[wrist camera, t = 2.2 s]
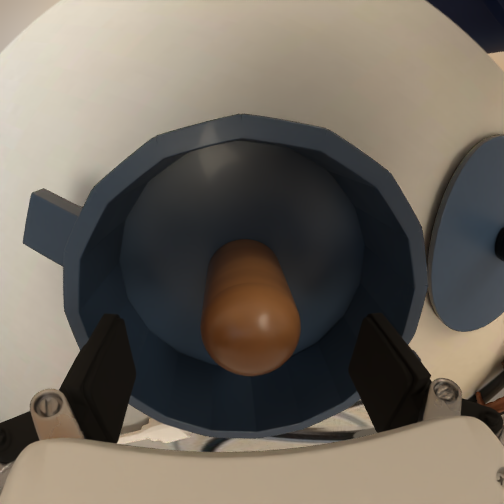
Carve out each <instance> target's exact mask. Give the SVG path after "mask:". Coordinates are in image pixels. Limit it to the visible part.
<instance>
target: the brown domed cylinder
mask: <svg viewBox="0 0 504 504" xmlns="http://www.w3.org/2000/svg"><path fill="white" fill-rule="evenodd" d="M200 329H201V337H202V341H203V344H204V346H205V348H206V350H207V352H208V354H209V355H210V356H211V358H212V359H213V360H214V361H215V362H216V363H217V364H218V365H219V366H221V367H222V368H224V369H225V370H227V371H229V372H232V373H234V374H238V375H242V376H259V375H264V374H267V373H270V372H272V371H274V370H276V369H277V368H279V367H280V366H282V365H283V364H284V363H285V362H286V361H287V360H288V359H289V358H290V357H291V355H292V354H293V352H294V351H295V349H296V347H297V344H298V341H299V338H300V332H301V322H300V316H299V312H298V310H297V307H296V304H295V302H294V299H293V297H292V294H291V291H290V289H289V286H288V284H287V281H286V279H285V276H284V274H283V271H282V269H281V266H280V263H279V261H278V259H277V257H276V255H275V254H274V252H273V251H272V250H271V249H270V248H269V247H267V246H266V245H264V244H263V243H261V242H258V241H255V240H249V239H241V240H235V241H232V242H229V243H227V244H225V245H223V246H222V247H221V248H219V249H218V250H217V251H216V252H215V254H214V255H213V256H212V258H211V260H210V262H209V266H208V272H207V278H206V285H205V293H204V300H203V307H202V315H201V325H200Z"/></svg>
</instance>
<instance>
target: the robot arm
mask: <svg viewBox="0 0 504 504" xmlns="http://www.w3.org/2000/svg"><path fill="white" fill-rule="evenodd" d="M348 372H349V375H350V377H351V379H352V381H353V383H354V385H355V388H356V390H357V392H358V394H359V396H360V398H361V400H362V402H363V404H364V406H365V408H366V410H367V413H368V415H369V417H370V419H371V421H372V423H373V425H374V427H375V430H376V431H377V433H376V434H372V435H368V436H364V437H359V438H354V439H349V440H344V441H339V442H333V443H327V444H321V445H314V446H307V447H299V448H291V449H280V450H268V451H251V452H193V451H176V450H164V449H154V448H145V447H136V446H129V445H122V444H116V443H117V442H118V440H119V436H120V432H121V429H122V425H123V421H124V417H125V414H126V410H127V406H128V403H129V399H130V396H131V392H132V389H133V386H134V382H135V379H136V368H135V364H134V360H133V356H132V352H131V348H130V344H129V340H128V335H127V331H126V326H125V321H124V319H123V318H120V316H119V315H118V314H106V313H105V314H104V315H103V316H102V318H101V319H100V321H99V323H98V324H97V326H96V328H95V329H94V331H93V333H92V335H91V336H90V338H89V340H88V342H87V343H86V345H84V346H83V347H82V349H81V350H80V352H79V354H78V356H77V357H76V359H75V361H74V363H73V365H72V366H71V368H70V370H69V372H68V374H67V376H66V378H65V380H64V382H63V383H62V385H61V387H60V389H59V390H56V389H45V390H42V391H40V392H38V393H37V394H36V395H34V397H33V398H32V400H31V402H30V411H29V412H27V413H24V414H22V415H19V416H17V417H14V418H12V419H9V420H7V421H4V422H2V423H0V504H504V425H503V419H502V417H501V415H500V414H499V412H497V411H496V410H495V409H493V408H490V407H487V406H484V405H481V404H478V403H475V402H472V401H469V400H466V399H463V398H462V391H461V389H460V387H459V386H458V385H457V384H456V383H455V382H453V381H452V380H449V379H445V378H438V379H435V380H434V381H433V382H432V381H431V380H430V377H431V375H430V373H429V372H428V371H427V369H426V368H425V367H424V365H423V364H422V363H421V361H420V360H419V359H418V357H417V356H416V355H415V354H414V352H413V351H412V350H411V348H410V347H409V346H408V345H407V343H406V342H405V341H404V340H403V338H402V337H401V336H400V335H399V333H398V332H397V331H396V330H395V328H394V327H393V326H392V325H391V323H390V322H389V321H388V320H387V318H386V317H385V316H384V315H383V314H382V313H371V314H368V315H367V316H366V317H365V318H363V320H362V324H361V327H360V331H359V334H358V338H357V341H356V344H355V348H354V351H353V354H352V357H351V360H350V364H349V367H348Z"/></svg>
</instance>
